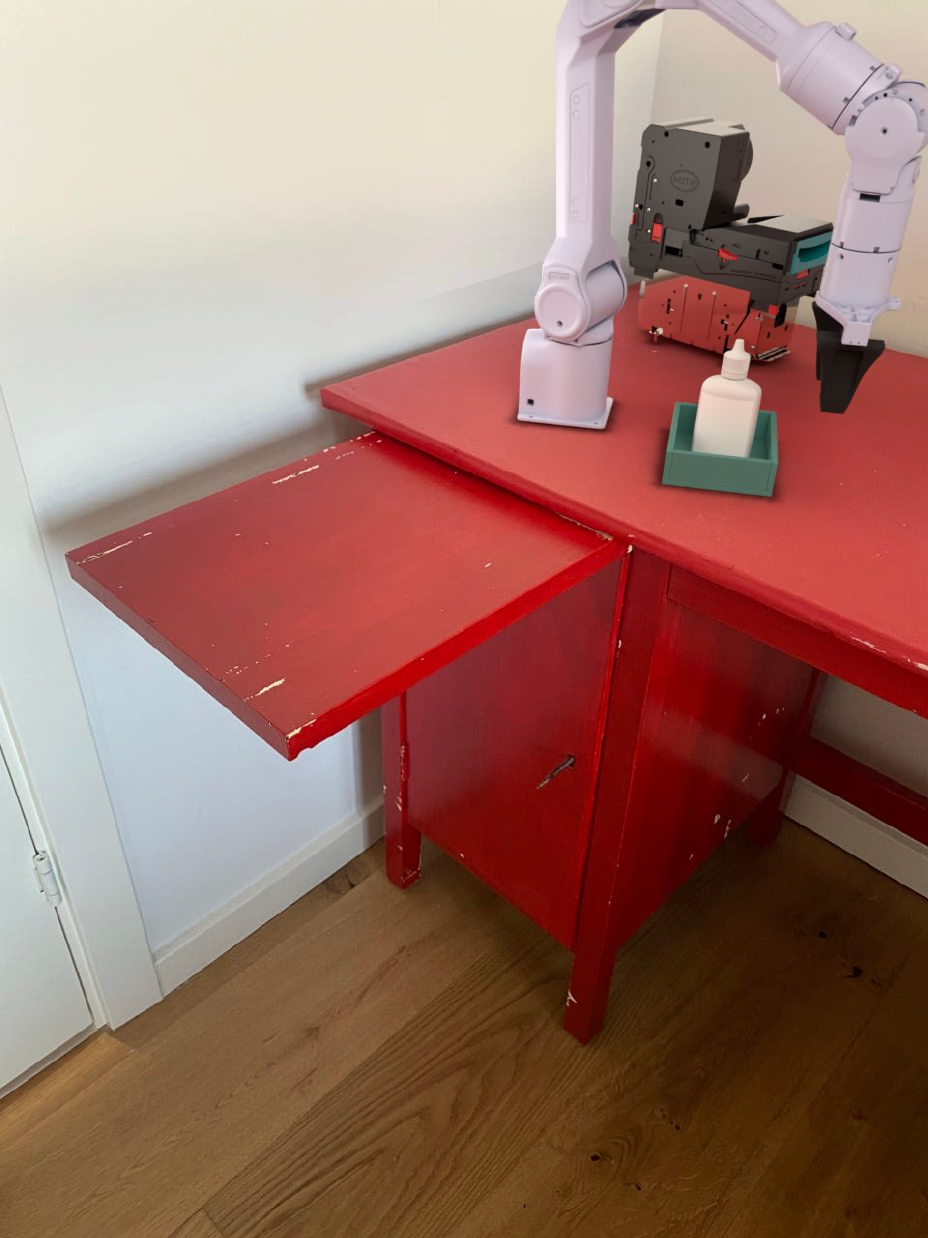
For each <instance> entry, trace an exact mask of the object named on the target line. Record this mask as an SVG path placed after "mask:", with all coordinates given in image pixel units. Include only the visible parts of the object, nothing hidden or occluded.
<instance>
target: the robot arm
mask: <svg viewBox="0 0 928 1238" xmlns="http://www.w3.org/2000/svg"><path fill="white" fill-rule="evenodd" d="M668 10H691V11H692V10H694V11H699V12H701V13H703V14H704V15H705V16H707V17H708V18H709V19H711V20H712V21H714V22H716V23H717V24H718V25H720V26H721V27H723V28H724V29H726V30H727V31H728V32H730V33H731V34H733V35H734V36H735V37H736V38H738V39H740V40H741V41H742V42H744V43H745V44H747V45H748V46H750V47H751V48H752V49H754V50H755V51H756V52H758V53H759V54H761V55H762V56H764V57H765V58H766V59H768V60H769V61H770V62H772V63H774V65H775V67H776V75H777V85H778V89H779V91H780V92H782V93H783V94H784V95H786V96H787V97H788V98H789V99H790V100H792V101H793V102H794V103H796V104H797V105H798V106H799V107H801V108H803V110H805V111H806V112H807V113H808V114H810V115H811V116H812V117H813V118H814V119H816V120H817V121H818V122H820V123H821V124H822V125H823V126H825V127H826V128H827V129H829V131H831V132H832V133H834V134H835V135H836V136H844V142H845V144H844V145H845V148H846V151H847V154H848V156H849V158H850V159H849V163H848V168H847V172H846V176H845V181H844V183H843V184H842V187H841V193H840V197H839V202H838V206H837V211H836V214H835V220H834V223H833V227H834V229H833V233H832V238H831V242H830V247H829V252H828V256H827V260H826V263H825V267H824V271H823V276H822V280H821V284H820V290H819V291H817V293H816V296H815V300H813V301H812V302H811V310H812V313H813V316H814V320H815V325H816V333H815V339H816V340H815V341H816V354H815V377H816V381H819V382H820V384H819V385H820V386H819V411H820V412H821V413H829V414H840V415H844V414H845V413H846V411H847V410H848V407H849V406H850V404H851V402H852V400H853V398H854V397H855V394H856V391H857V390H858V388H859V386H860V383H861V382H862V380H863V378H864V377H865V375H866V373H867V372H868V371H869V369H870V368H871V367H872V366H873V364H874V363H875V362H876V361H877V360H878V359H879V358H880V357H882V354H883V353H884V351H885V349H886V342H885V340H884V339H876V338H875V339H874V338H873V339H872V338H870V335H871V331H872V326H873V325H874V324H875V323H876V322H877V321H878V320H879V319H880V318H881V317H882V316H883V315H884V314H885V313H886V312H888V311H894V312H896V311H901V306H902V304H903V303H902V299H901V298H900V297H899V296H895V295H890V293H891V292H890V291H891V289H892V284H893V280H894V276H895V272H896V269H897V265H898V261H899V257H900V253H901V249H902V246H903V243H904V239H905V234H906V231H907V227H908V223H909V219H910V215H911V211H912V208H913V203H914V199H915V196H916V189H917V188H916V184H917V180H918V178H919V175H920V173H921V164H922V161H923V160H922V159H923V155H917V154H919V153H920V152H922V151H923V150H924V149H925V148H926V147H927V146H928V87H927V84H926V83H925V82H924V81H922V80H919V79H913V78H912V79H911V78H907V79H901V80H900V78H901V77H900V76H901V75H902V74H903V73H904V69H903V68H902V67H901V66H900V65H899V64H897V63H896V62H893V63H890V64H889V66H888V65H887V64H885V62H883V61H881V60H880V59H879V58H878V57H876V56H875V55H874V54H873V53H872V52H870V51H869V50H867V49H866V48H865V47H863V46H862V45H861V44H859V42H857V41H856V40H855V39H854V38H855V36H856V35H857V34H858V30H857V28H855V27H854V26H853V25H851V24H849V23H848V22H846V21H845V22H841V23H839V24H838V25H837V26H836V25H835V24H834V23H833V22H831V21H830V20H824V21H820V22H817V23H816V22H815V23H813V24H810V25H804V24H803V23H802V22H800V20H798V19H797V18H796V17H795V16H794V15H793V14H791V13H790V12H789V11H788V10H787V9H786V8H784V7H783V5H781V4H780V3H779V2H778V1H776V0H567V1H566V3H565V6H564V8H563V11H562V13H561V16H560V19H559V21H558V24H557V26H556V31H555V32H556V33H555V239H554V241H553V243H552V245H551V246H550V248H549V251H548V253H547V254H546V256H545V258H544V261H543V263H542V265H541V281H540V285H539V288H538V290H537V292H536V294H535V297H534V301H533V310H534V316H535V320H536V322H537V324H538V326H539V327H540V328H528V329H527V330H526V332H525V335H524V339H523V341H522V349H521V350H522V351H521V357H520V373H519V374H520V375H519V399H518V414H517V420H518V421H520V422H530V423H538V424H547V425H548V424H549V425H557V426H567V427H575V428H585V429H593V430H594V429H595V430H604V429H605V428H606V426H607V422H608V420H609V416H610V413H611V410H612V407H613V403H614V399H613V398H612V397H610V396H608V391H609V382H610V370H611V361H612V352H613V351H612V350H613V342H614V331H615V330H614V329H615V328H614V319H615V315H617V314H618V313H619V312H620V311H621V310H622V308H623V307H624V306H625V303H626V300H627V297H628V283H627V278H626V276H625V274H624V271H623V269H622V265H621V248H620V246H619V244H618V243H617V241H616V240H615V238H614V237H613V235H612V233H611V230H612V197H613V196H612V191H613V161H614V160H613V156H614V154H613V153H614V120H615V119H614V117H615V114H614V113H615V85H616V82H615V81H616V55H617V52H618V51H619V50H620V49H621V47H623V46H624V44H625V43H626V42H627V41H628V40H629V39H630V38H631V37H632V36H633V35H634V34H635V33H636V31H637V30H639V28H641V27H642V25H643V24H644V23H646V22H647V21H649V20H651V19H653V18H655V17H656V16H658V15H660V14H662V13H664V12H665V11H668Z"/></svg>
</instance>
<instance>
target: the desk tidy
mask: <svg viewBox="0 0 928 1238" xmlns="http://www.w3.org/2000/svg"><path fill="white" fill-rule="evenodd" d="M697 409H698V403H695V402H683V401H675V402H674V407H673V411H672V412H673V413H672V419H671V424H670V429H669V436H668V440H667V447H666V451H665V452H666V453H665V459H664V466H663V474H662V481H661V482H662V483H661V485H665V486H672V487H673V486H674V487H682V488H690V489H700V490H708V491H715V492H716V491H717V492H725V493H732V494H733V493H734V494H735V493H736V494H742V495H751V496H758V497H759V496H761V497H767V498H772V496H773V490H774V486H775V481H776V478H777V474H778V473H777V472H778V468H779V442H778V441H779V439H778V438H779V437H778V416H777V415H778V414H777V413H778V412H777V411H773V410H763V409H759V412H758V417H757V422H756V427H755V432H754V438H753V443H752V448H751V453H750V457H749V458H747V457H738V456H729V455H719V454H710V453H701V452H692V451H691V447H692V441H693V435H694V428H695V422H696V416H697Z"/></svg>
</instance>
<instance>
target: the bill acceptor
mask: <svg viewBox="0 0 928 1238" xmlns="http://www.w3.org/2000/svg"><path fill="white" fill-rule="evenodd" d="M752 142H753V141H752V139H751V133H750V130H746V128H745V126H744V124H743V123H740V122H735V121H728V120H719V121H715V120H714V118H712V117H707V116H702V115H700V116H694V117H687V118H680V119H674V120H667V121H661V122H655V123H650V124H649V125H648V126H647V127H646V128H645V129H643V132H642V134H641V140H640V147H641V151H640V152H641V153H640V160H639V168H638V170H637V173H636V179H635V180H636V182H635V191H634V199H633V206H632V213H633V214H631V215H632V216H631V217H632V218H631V223H630V224H629V225H628V233H627V235H628V236H627V241H628V253H627V257H628V265H629V267H630V268H633V275H634V276H638V277H641V278H644V280H642V281H641V282H640V289H639V299H638V305H637V315H636V316H637V317H638V318H639V321H638V323H639V328H640V329H644V330H647V331H649V334H650V335H654V336H653V342H655V343H657V342H658V337H660V336H661V337H664V338H668V339H672V340H674V341H677V342H680V343H684V344H687V345H693V346H695V347H698V348H701V349H703V350H707V351H711V352H715V353H717V354H720V355H722V356H723V357H724V354H725V353H726V352H727V351H731V350H732V349H733V347H734V345H735V342H736V340H737V339H742V340H744V351H745V352H747V353H748V354H749V355H750V356H751V358H750V362H752V361H753V360H754V361H763V362H767V363H770V362H773V361H775V360H777V359H780V358H782V357H784V356H787V355H789V354H791V351H790V350H788V349H787V347H788V346H789V344H790V343H791V340H792V339H793V338H792V337H793V333H794V328H795V323H796V319H797V314H798V309H799V304H800V301H801V300H800V299H801V298H802V297H805V296H806V297H809V298H815V299H816V296H817V292H818V291H819V290H820V288H821V283H822V279H823V274H824V270H825V265H826V260H827V256H828V252H829V247H830V242H831V238H832V233H833V229H834V223H833V222H831V221H827V220H823V219H822V220H821V219H816V218H811V217H806V216H801V215H796V214H792V213H791V214H779V215H778V214H777V215H776V214H775V215H762V216H752V217H751V216H750V217H749V214H750V205H749V204H748V202H745V201H741V200H738V196H739V193H740V190H741V187H742V182H743V180H744V179H746V177H747V175H748V174H749V172H750V171H751V168H752V166H753V161H754V148H753V143H752ZM748 217H749V218H748ZM747 218H748V219H747ZM744 219H747V221H743V222H742V220H744ZM740 220H741V221H740Z"/></svg>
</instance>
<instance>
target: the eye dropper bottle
mask: <svg viewBox="0 0 928 1238" xmlns="http://www.w3.org/2000/svg"><path fill="white" fill-rule="evenodd" d="M750 358H751V356H750V355H749V354H748V353H747V352H745V351H744V340H742V339H737V340H736V342H735V345H734V347H733V349H732V350H731V351H727V352H726V353H725V354H724V356H723V359H722V365H721V370H720V371H721V372H720V374H716V375H712V376H709V377H707V378H706V379H705V380H704V381H703V382H702V384H701V388H700V391H699V397H698V403H697V404H698V409H697V416H696V422H695V428H694V435H693V441H692V447H691V451H692V452H701V453H710V454H719V455H729V456H738V457H747V458H749V457H750V453H751V448H752V443H753V438H754V432H755V427H756V422H757V417H758V412H759V410H760V407H761V406H760V405H761V401H762V395H763V393H762V388H761V386H760V385H759V384H758V383H756V382H755V381H754V380H752V379H750V378H748V373H749V368H750V363H751V361H750Z"/></svg>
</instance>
